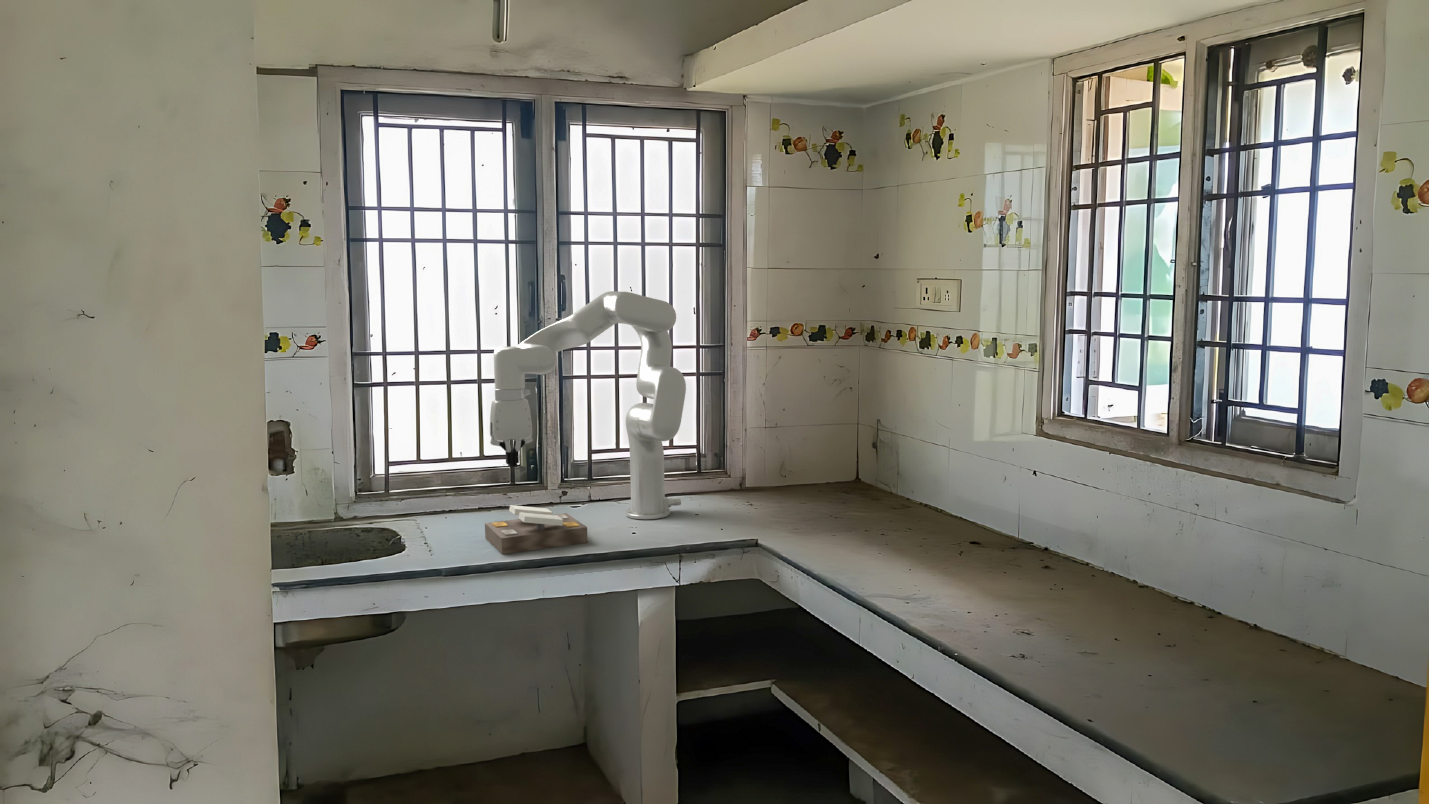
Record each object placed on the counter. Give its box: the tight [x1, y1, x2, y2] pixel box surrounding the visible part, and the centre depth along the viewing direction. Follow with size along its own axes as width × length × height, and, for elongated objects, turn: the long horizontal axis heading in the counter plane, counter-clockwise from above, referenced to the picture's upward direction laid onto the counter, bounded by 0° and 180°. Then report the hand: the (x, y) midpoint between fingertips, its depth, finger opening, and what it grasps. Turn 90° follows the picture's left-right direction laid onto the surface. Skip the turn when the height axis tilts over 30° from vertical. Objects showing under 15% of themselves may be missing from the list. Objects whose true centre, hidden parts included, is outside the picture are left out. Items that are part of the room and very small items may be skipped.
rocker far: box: [509, 504, 554, 516], centre depth 270 cm, size 10×5×2 cm, turn 116°
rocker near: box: [518, 512, 563, 526], centre depth 262 cm, size 10×5×2 cm, turn 116°
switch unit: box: [484, 512, 589, 555], centre depth 266 cm, size 22×17×6 cm
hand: (512, 466), depth 266 cm, fingers closed
